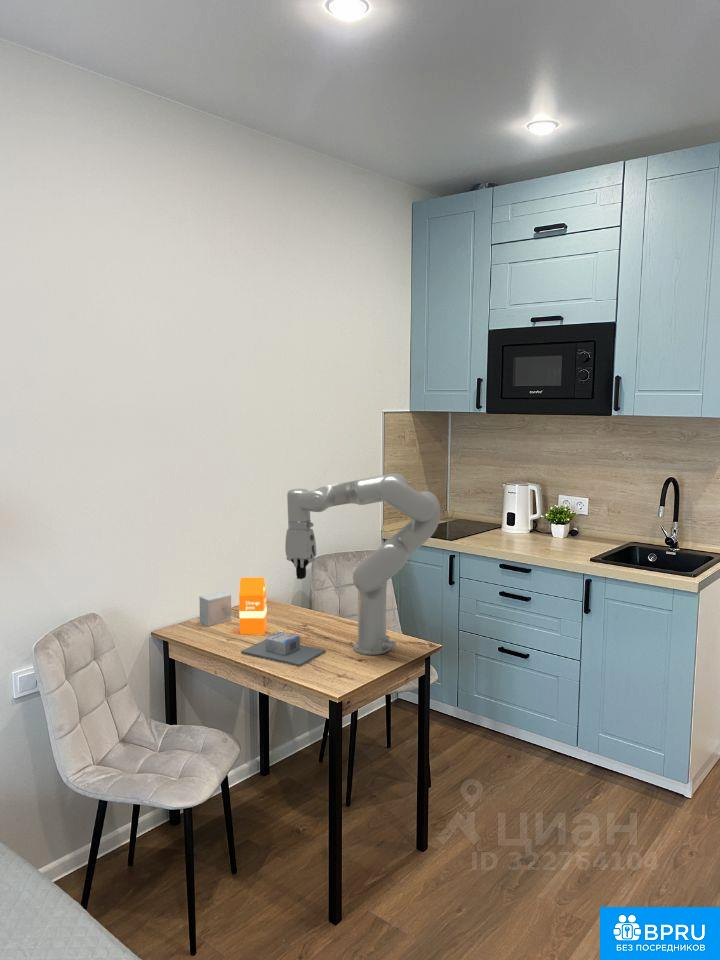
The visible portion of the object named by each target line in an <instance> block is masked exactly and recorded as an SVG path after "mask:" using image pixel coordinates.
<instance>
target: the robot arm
mask: <svg viewBox="0 0 720 960" xmlns="http://www.w3.org/2000/svg"><path fill="white" fill-rule="evenodd" d="M286 499H287V501H286V502H287V521H288V528H287V529H286V534H285V545H284V547H285V548H284V549H285V551H284V552H285V556H286V560H287V561H289V562H291V563H292V564H293V565H294V567H295V572H296V573H295V574H296V579H298V580H303V579H305V578H306V576H307V566H308V565H309V564H311V563H315V562H316V559H315V557H316V556H317V543H316V537H315V532H314V529H313V528H312V527H314V522H312V521H311V512H314V513H322V512H324V511H326V510H327V509H329V508H331V507H336V506H342V505H350V504H355V505H358V506H365V505H369V504H375V503H381V502H385V503H387V504H389V505H390V506H391V507H393V508H394V509H396V510H398V511H399V512H401V513H402V514H404V515H405V516H407V517H409V518H410V519H411V520H409V522H407V523H406V524H405V525H404V526H403V527H402V528H401V529H400V530H399V531H398V532H396V533H395V534H394V535H392V537H389V538H388V539H387V540H386V541H384V542H383V543H382V545H381V546H380V547H379V548H378V549H377V550H376V551H375V552H373V553H372V554H371V555H370V556H368V557H365V558H364V559H362V561H360V562H359V564H358V565H357V566H356V567H355V569H354V572H353V574H352V583H353V585H354V586H355V588H356V589H357V590H358V591H357V593H358V594H357V641H356V642H355V643H354V644H353V650H354V651H355V652H357V653H359V654H362V655H369V656H370V655H371V656H372V655H373V656H375V655H377V656H378V655H382V654H385V653H388V652H389V651H390V650H391V649H392V650H396V647H397V644H396V643H397V642H396V641H395V640H390V636H389V635H387V586H388V584H387V583H388V580H390V579H391V578H392V577H394V576H395V575H396V574H397V573H398V572H399V571H400V570H401V569H402V568H403V567H404V565H405V564H406V563H407V561H408V560H409V558H410V557H411V556H412V555H413V554H414V553H415V552H416V551H418V549H420V548H421V547H422V546H423V545H424V544H425V543H426V542H427V541H428V540H429V539H430V538H431V537H432V536H433V535H434V533H435V532H436V531H437V529H438V525H439V523H440V520H441V514H442V513H441V512H442V510H441V506H440V505H441V504H440V502H439V499H438V497H437V495H435V493H433V492H431V491H427V490H426V491H424V490H423V491H421V492H419V491H418V490H416V489H415V488H413V487H411V486H409V485H408V481H407V479H406V477H404V476H403V475H402V474H400V473H395V472H394V473H388V474H383V475H378V476H371V477H367V478H361V479H356V480H351V481H347V482H345V481H344V482H339V483H335V484H327V485H324V486H320V487H318V488H315V489H314V490H308V489H307V488H294V489H289V490H288V491H287V493H286Z"/></svg>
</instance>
